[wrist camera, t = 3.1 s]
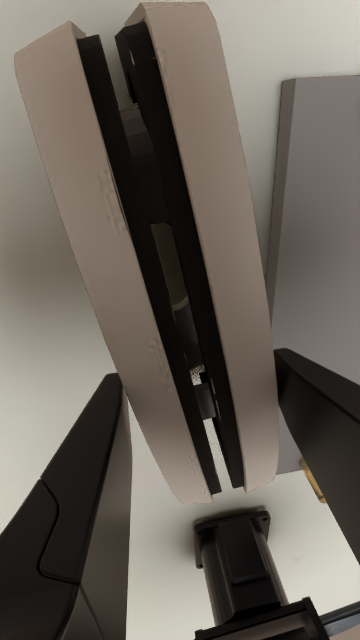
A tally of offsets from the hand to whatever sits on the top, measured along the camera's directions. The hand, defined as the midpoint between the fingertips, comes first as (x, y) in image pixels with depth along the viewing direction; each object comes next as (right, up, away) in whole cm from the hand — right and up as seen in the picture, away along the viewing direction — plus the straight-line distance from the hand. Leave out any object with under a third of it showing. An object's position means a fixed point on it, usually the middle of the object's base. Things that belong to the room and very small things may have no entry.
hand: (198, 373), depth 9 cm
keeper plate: (+8, +1, +11) cm, 14 cm away
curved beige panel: (-1, +5, +8) cm, 9 cm away
